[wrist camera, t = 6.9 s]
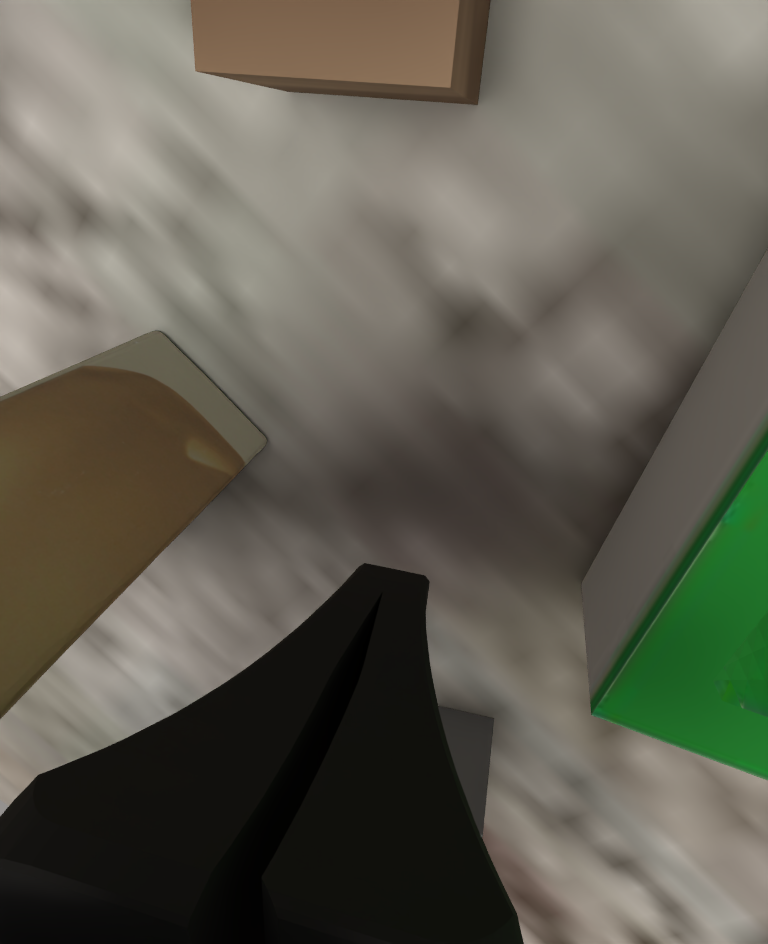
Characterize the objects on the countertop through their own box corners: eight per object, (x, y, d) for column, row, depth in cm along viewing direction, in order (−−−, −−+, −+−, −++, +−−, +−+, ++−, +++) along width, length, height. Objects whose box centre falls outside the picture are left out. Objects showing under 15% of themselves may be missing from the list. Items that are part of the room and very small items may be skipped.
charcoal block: (478, 793, 22) (465, 913, 18) (370, 766, 22) (337, 877, 19) (494, 716, 20) (483, 835, 16) (375, 689, 21) (340, 797, 17)
